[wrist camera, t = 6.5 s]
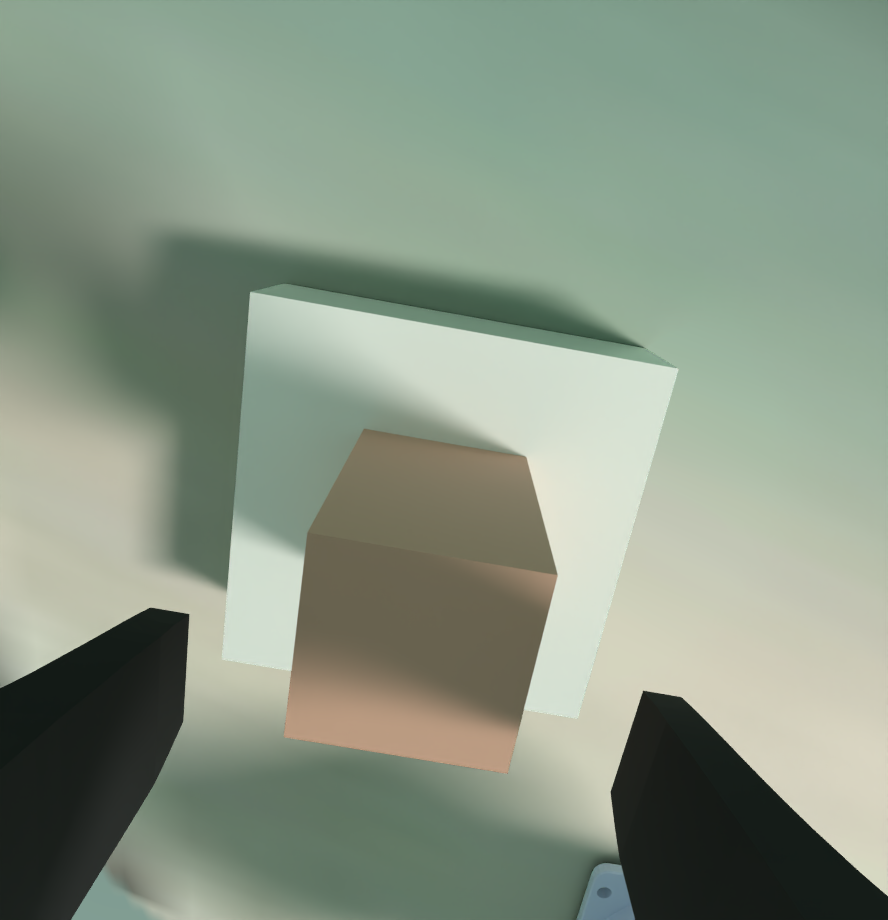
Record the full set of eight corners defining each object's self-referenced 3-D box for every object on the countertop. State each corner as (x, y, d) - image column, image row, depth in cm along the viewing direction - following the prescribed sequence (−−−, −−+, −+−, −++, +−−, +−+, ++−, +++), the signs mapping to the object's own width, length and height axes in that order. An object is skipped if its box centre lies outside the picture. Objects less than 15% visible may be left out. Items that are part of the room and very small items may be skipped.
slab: (563, 654, 21) (577, 718, 19) (254, 602, 21) (222, 659, 18) (645, 348, 18) (678, 368, 15) (284, 283, 18) (250, 291, 15)
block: (494, 599, 17) (507, 773, 12) (343, 574, 17) (283, 737, 12) (526, 456, 16) (557, 575, 11) (363, 428, 16) (307, 532, 10)
